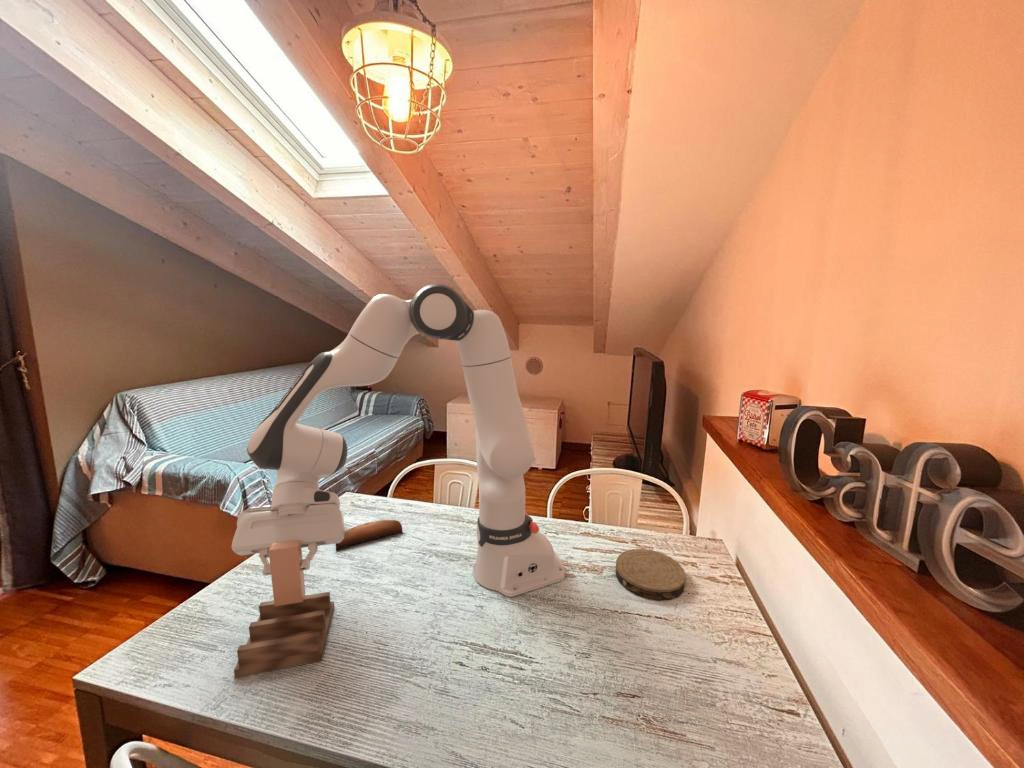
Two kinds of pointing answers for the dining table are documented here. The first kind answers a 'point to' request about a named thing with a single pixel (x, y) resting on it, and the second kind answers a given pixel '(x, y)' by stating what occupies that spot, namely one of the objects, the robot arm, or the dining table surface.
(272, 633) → the rack
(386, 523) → the sunglasses case
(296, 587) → the clay slab
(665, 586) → the wood slice
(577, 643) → the dining table surface
